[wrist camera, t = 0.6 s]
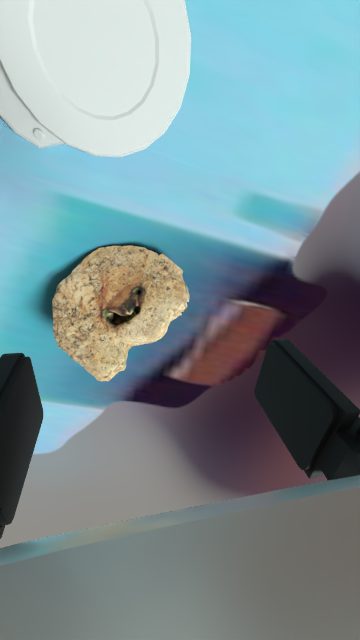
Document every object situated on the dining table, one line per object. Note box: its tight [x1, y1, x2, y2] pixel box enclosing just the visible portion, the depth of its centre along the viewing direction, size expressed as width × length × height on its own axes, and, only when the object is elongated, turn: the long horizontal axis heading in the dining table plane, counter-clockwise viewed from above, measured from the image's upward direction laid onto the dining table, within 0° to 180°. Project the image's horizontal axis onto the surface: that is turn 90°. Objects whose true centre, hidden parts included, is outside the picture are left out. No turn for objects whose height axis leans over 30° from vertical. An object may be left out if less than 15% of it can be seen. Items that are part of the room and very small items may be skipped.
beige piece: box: [52, 245, 189, 381], centre depth 35 cm, size 18×14×8 cm
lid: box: [0, 0, 191, 157], centre depth 24 cm, size 17×20×3 cm
